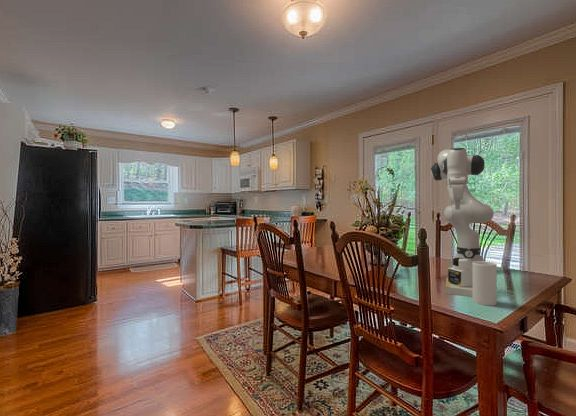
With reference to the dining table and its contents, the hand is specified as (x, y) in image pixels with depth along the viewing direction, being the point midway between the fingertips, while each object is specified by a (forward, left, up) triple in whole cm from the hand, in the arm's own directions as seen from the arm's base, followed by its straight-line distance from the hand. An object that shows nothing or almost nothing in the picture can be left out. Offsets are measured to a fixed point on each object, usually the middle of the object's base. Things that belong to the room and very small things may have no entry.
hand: (457, 209), depth 147 cm
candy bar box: (-4, -34, -37) cm, 51 cm away
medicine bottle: (+11, +1, -34) cm, 36 cm away
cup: (+24, +9, -37) cm, 45 cm away
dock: (+9, +1, -37) cm, 38 cm away
